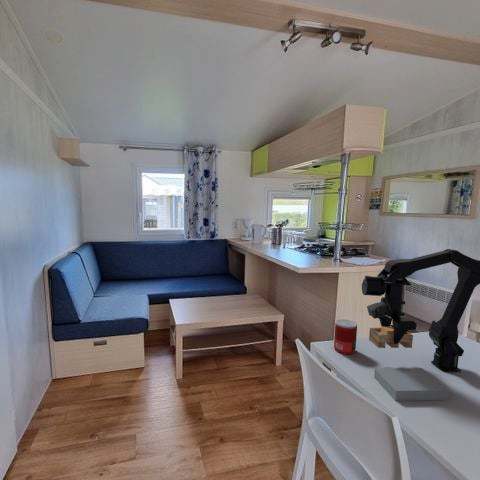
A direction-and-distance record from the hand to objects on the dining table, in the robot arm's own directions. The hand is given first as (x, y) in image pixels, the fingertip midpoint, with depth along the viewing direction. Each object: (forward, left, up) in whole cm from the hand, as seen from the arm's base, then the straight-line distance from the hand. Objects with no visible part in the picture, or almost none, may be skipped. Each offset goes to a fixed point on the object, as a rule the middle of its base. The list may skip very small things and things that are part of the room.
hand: (390, 339), depth 106 cm
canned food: (+12, -10, -9) cm, 18 cm away
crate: (0, 0, +2) cm, 2 cm away
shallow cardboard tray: (0, 0, -2) cm, 2 cm away
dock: (+2, +15, -9) cm, 17 cm away
